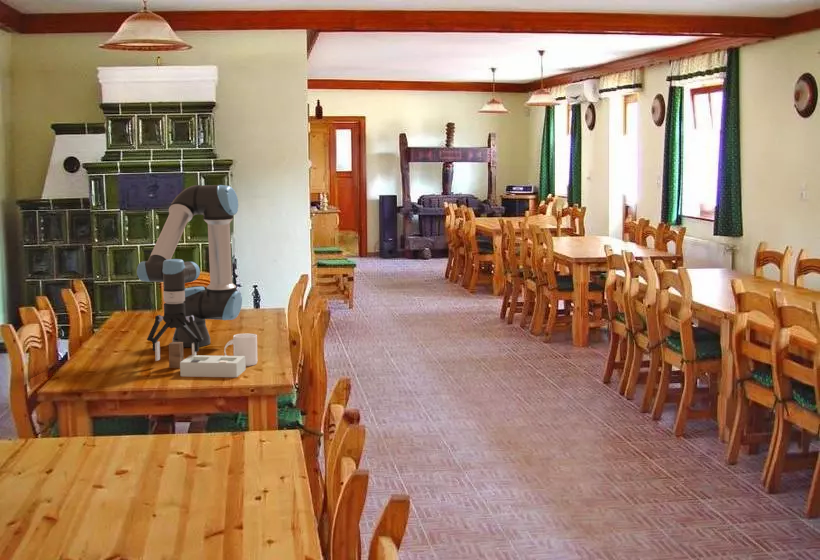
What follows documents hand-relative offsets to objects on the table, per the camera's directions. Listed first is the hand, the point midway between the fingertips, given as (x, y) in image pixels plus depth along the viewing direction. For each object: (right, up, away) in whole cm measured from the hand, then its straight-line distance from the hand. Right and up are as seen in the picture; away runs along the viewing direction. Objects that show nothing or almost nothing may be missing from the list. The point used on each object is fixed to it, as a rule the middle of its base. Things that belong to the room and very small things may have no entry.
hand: (176, 360), depth 346 cm
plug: (0, -3, +1) cm, 3 cm away
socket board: (+15, -4, -9) cm, 18 cm away
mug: (+23, -2, +6) cm, 23 cm away
